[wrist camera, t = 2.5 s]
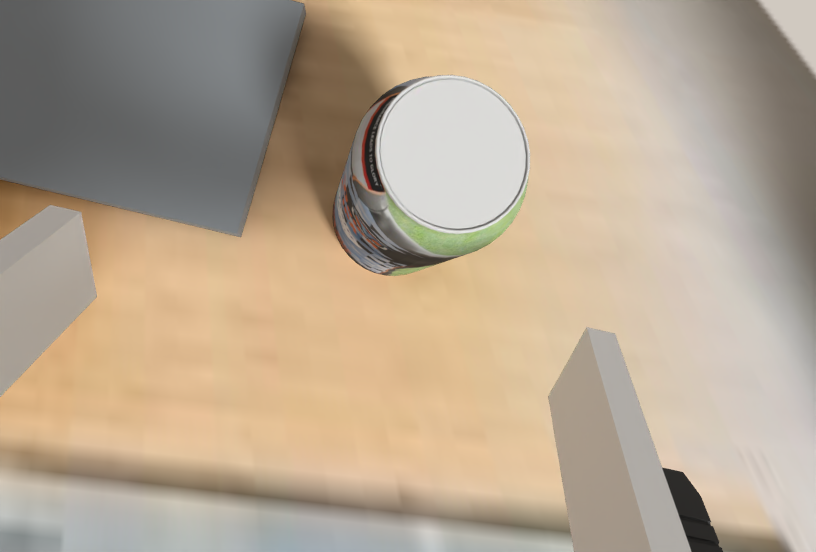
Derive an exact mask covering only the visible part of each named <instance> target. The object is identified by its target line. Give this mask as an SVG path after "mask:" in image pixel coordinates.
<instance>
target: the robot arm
mask: <svg viewBox="0 0 816 552" xmlns="http://www.w3.org/2000/svg"><path fill="white" fill-rule="evenodd" d="M96 297H97V294H96V288H95V283H94V278H93V272H92V267H91V262H90V256H89V251H88V246H87V241H86V235H85V230H84V225H83V219H82V214H81V212H79V211H75V210H70V209H66V208H62V207H57V206H53V205H49V206H48V207H46V208H45V209H44V210H42V211H41V212H39V213H38V214H36V215H35V216H34V217H32V218H31V219H29V220H28V221H26V222H25V223H24V224H22V225H21V226H19V227H18V228H16V229H15V230H14V231H12V232H11V233H9V234H8V235H6V236H5V237H3V238H2V239H1V240H0V397H1V396H2V395H3V394H4V392H5V391H6V390H7V389H8V388H9V387H10V386H11V385H12V384H13V383H14V382H15V381H16V380H17V379H18V378H19V377H20V376H21V375H22V374H23V373H24V372H25V371H26V370H27V369H28V368H29V367H30V366H31V365H32V364H33V362H34V361H35V360H36V359H37V358H38V357H39V356H40V355H41V354H42V353H43V352H44V351H45V350H46V349H47V348H48V347H49V346H50V345H51V344H52V343H53V342H54V341H55V340H56V339H57V338H58V337H59V336H60V335H61V333H62V332H63V331H64V330H65V329H66V328H67V327H68V326H69V325H70V324H71V323H72V322H73V321H74V320H75V319H76V318H77V317H78V316H79V315H80V314H81V313H82V312H83V311H84V310H85V309H86V308H87V307H88V306H89V305H90V303H91V302H92V301H93V300H94V299H95V298H96ZM548 398H549V404H550V410H551V416H552V422H553V428H554V434H555V440H556V446H557V452H558V458H559V464H560V470H561V476H562V482H563V488H564V494H565V500H566V506H567V512H568V518H569V524H570V530H571V536H572V542H573V548H574V552H723V551H722V548H721V547H719V545H718V544H719V541H718V538H717V536H716V533H715V531H714V528H713V526H711V525H710V522H711V521H710V518H709V516H708V513H707V511H706V508H705V506H704V503H703V501H702V498H701V496H700V494H699V493H698V492H697V490H696V489H695V488H694V486H693V485H692V484H691V482H690V481H689V480H688V478H687V477H686V476H685V474H684V473H683V472H680V471H675V470H670V469H666V468H662V466H661V463H660V460H659V458H658V455H657V452H656V449H655V446H654V443H653V441H652V438H651V435H650V432H649V429H648V426H647V423H646V421H645V418H644V415H643V412H642V409H641V406H640V403H639V401H638V398H637V395H636V392H635V389H634V386H633V383H632V381H631V378H630V375H629V372H628V369H627V366H626V364H625V361H624V358H623V355H622V352H621V349H620V346H619V344H618V341H617V338H616V335H615V334H614V333H610V332H606V331H601V330H597V329H593V328H588V327H587V328H586V330H585V331H584V333H583V335H582V337H581V339H580V340H579V342H578V344H577V346H576V348H575V349H574V351H573V353H572V355H571V356H570V358H569V360H568V362H567V364H566V365H565V367H564V369H563V371H562V373H561V374H560V376H559V378H558V380H557V382H556V383H555V385H554V387H553V389H552V390H551V392H550V394H549V396H548Z"/></svg>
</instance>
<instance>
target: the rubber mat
mask: <svg viewBox="0 0 816 552" xmlns="http://www.w3.org/2000/svg"><path fill="white" fill-rule="evenodd" d="M305 15H306V11H305V6H304V4H303V3H299V2H295V1H291V0H0V179H1V180H5V181H9V182H13V183H17V184H21V185H26V186H30V187H34V188H38V189H42V190H46V191H51V192H55V193H59V194H63V195H67V196H71V197H76V198H80V199H84V200H88V201H92V202H96V203H101V204H105V205H109V206H113V207H117V208H121V209H126V210H130V211H134V212H138V213H142V214H146V215H150V216H155V217H159V218H163V219H167V220H171V221H175V222H180V223H184V224H188V225H192V226H196V227H200V228H205V229H209V230H213V231H217V232H221V233H225V234H230V235H234V236H238V237H241V235H242V232H243V229H244V225H245V222H246V218H247V215H248V211H249V208H250V204H251V201H252V198H253V194H254V191H255V187H256V184H257V180H258V177H259V173H260V170H261V167H262V163H263V160H264V156H265V153H266V149H267V146H268V142H269V139H270V135H271V132H272V129H273V125H274V122H275V118H276V115H277V111H278V108H279V104H280V101H281V98H282V94H283V91H284V87H285V84H286V80H287V77H288V73H289V70H290V67H291V63H292V60H293V56H294V53H295V49H296V46H297V42H298V39H299V35H300V32H301V29H302V25H303V22H304V18H305Z"/></svg>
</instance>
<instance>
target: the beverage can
mask: <svg viewBox="0 0 816 552" xmlns="http://www.w3.org/2000/svg"><path fill="white" fill-rule="evenodd" d="M529 169H530V151H529V144H528V139H527V136H526V133H525V130H524V127H523V125H522V123H521V121H520V119H519V117H518V115H517V114H516V113H515V111H514V110H513V108H512V107H511V106H510V104H509V103H508V102H507V101H506V100H505V99H504V98H503V97H502V96H501V95H500V94H498V93H497V92H496V91H494V90H493V89H491V88H490V87H488V86H486V85H484V84H483V83H481V82H479V81H476V80H473V79H470V78H467V77H462V76H455V75H438V76H434V77H422V78H418V79H413V80H409V81H407V82H405V83H402V84H400V85H398V86H395V87H394V88H392V89H391V90H389V91H388V92H386V93H385V94H383V95H382V96H381V97H380V98H379V99H378V100H377V101H376V102H375V103H374V104H373V105H372V106H371V107H370V109H369V110H368V112H367V113H366V115H365V116H364V118H363V119H362V121H361V123H360V125H359V128H358V130H357V132H356V135H355V138H354V141H353V144H352V147H351V150H350V153H349V156H348V159H347V162H346V165H345V168H344V171H343V175H342V178H341V181H340V184H339V187H338V190H337V193H336V196H335V200H334V204H333V224H334V229H335V232H336V236H337V238H338V240H339V242H340V244H341V246H342V248H343V249H344V250H345V252H346V253H347V254H348V256H349V257H351V258H352V259H353V260H354V261H355V262H356V263H357V264H359V265H360V266H362V267H363V268H365V269H367V270H369V271H372V272H374V273H378V274H382V275H389V276H398V275H406V274H409V273H412V272H416V271H419V270H421V269H424V268H427V267H430V266H433V265H436V264H439V263H442V262H445V261H448V260H451V259H454V258H457V257H460V256H463V255H466V254H469V253H472V252H474V251H477V250H479V249H481V248H483V247H485V246H486V245H488V244H490V243H491V242H493V241H494V240H495V239H496V238H498V237H499V236H500V235H501V234H502V233H503V232H504V231H505V230H506V229H507V228H508V227H509V225H510V224H511V223H512V222H513V220H514V218H515V217H516V215H517V213H518V212H519V210H520V208H521V205H522V202H523V200H524V197H525V193H526V188H527V183H528V175H529Z"/></svg>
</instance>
